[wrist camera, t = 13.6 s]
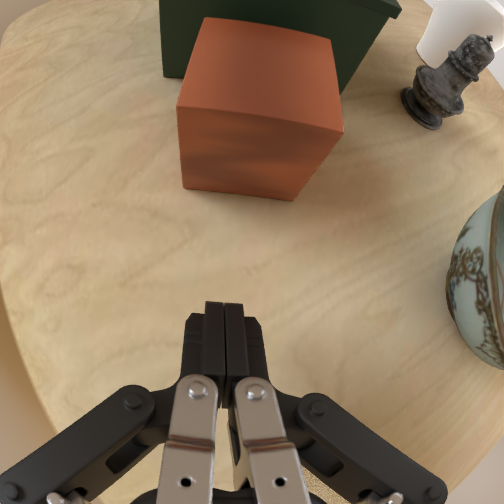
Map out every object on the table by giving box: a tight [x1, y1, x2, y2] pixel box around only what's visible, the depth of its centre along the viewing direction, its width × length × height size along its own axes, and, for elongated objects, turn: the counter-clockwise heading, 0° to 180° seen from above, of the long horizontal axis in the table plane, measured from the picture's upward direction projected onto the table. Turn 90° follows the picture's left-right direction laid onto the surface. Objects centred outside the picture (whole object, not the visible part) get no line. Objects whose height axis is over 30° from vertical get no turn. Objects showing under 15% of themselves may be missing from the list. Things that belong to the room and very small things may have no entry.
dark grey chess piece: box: [401, 34, 494, 130], centre depth 19 cm, size 6×6×12 cm
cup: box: [416, 0, 504, 69], centre depth 21 cm, size 10×10×14 cm
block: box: [176, 17, 344, 201], centre depth 16 cm, size 7×7×8 cm
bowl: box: [446, 185, 504, 370], centre depth 17 cm, size 14×13×8 cm
